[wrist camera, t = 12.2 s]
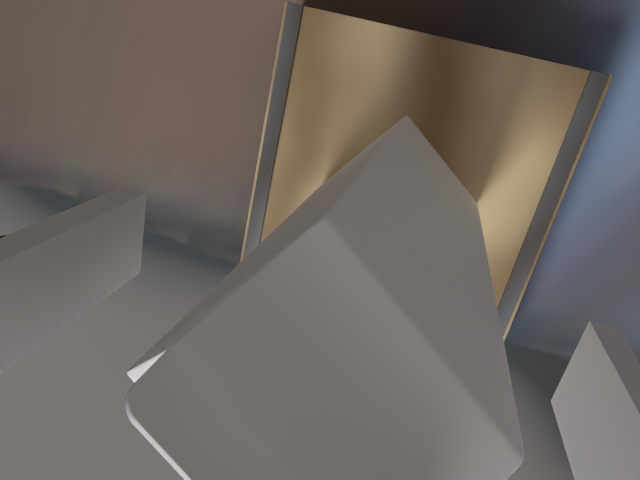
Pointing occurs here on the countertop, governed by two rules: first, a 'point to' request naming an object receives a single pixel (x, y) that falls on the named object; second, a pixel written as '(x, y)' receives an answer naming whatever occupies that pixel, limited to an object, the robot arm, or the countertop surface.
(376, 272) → the milk
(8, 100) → the countertop surface
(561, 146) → the dock
